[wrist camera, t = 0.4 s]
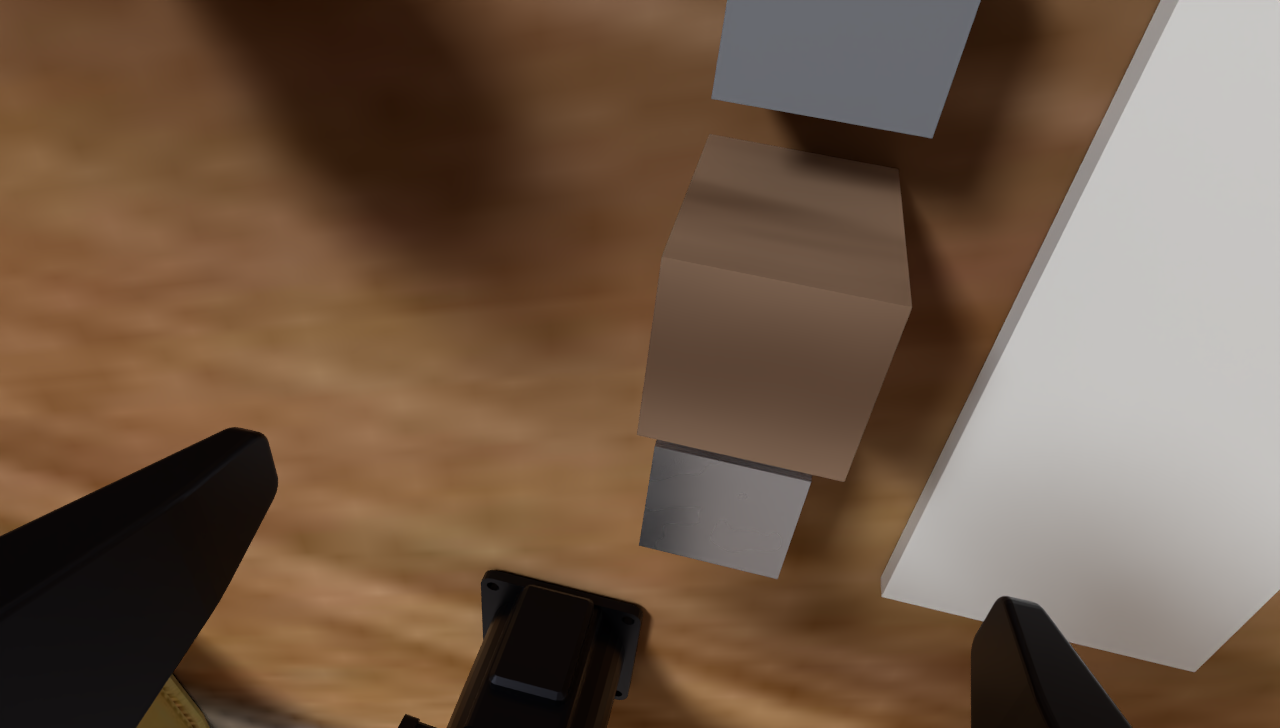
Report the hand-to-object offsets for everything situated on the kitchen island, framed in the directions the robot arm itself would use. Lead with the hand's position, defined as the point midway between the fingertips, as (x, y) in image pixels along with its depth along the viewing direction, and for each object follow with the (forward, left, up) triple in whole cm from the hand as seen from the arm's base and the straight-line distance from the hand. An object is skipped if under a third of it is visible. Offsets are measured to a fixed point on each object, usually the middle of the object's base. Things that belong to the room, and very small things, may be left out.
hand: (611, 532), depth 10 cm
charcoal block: (+4, -2, -12) cm, 13 cm away
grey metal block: (-9, -2, -12) cm, 15 cm away
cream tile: (-4, -13, -12) cm, 18 cm away
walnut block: (-2, -2, -12) cm, 13 cm away
